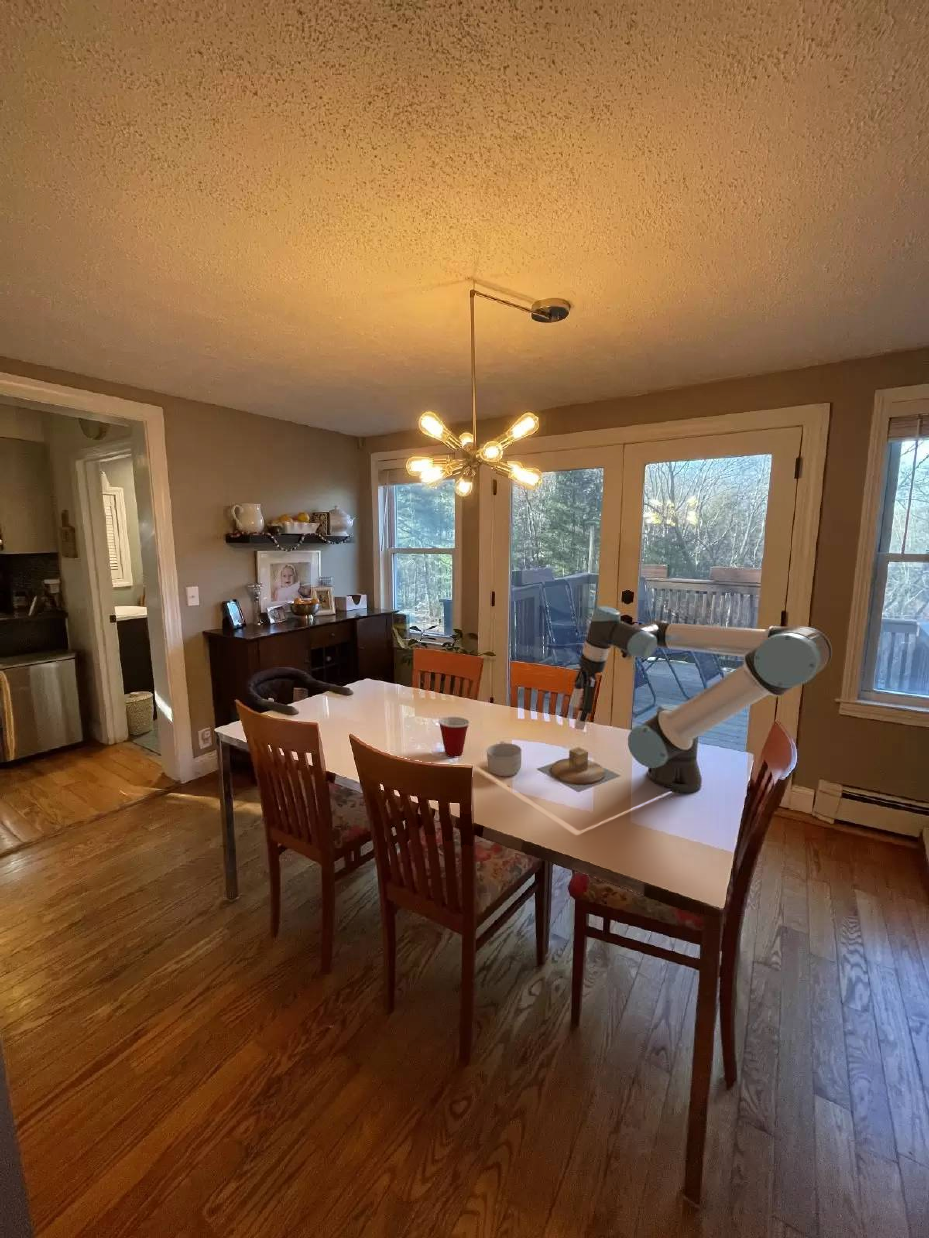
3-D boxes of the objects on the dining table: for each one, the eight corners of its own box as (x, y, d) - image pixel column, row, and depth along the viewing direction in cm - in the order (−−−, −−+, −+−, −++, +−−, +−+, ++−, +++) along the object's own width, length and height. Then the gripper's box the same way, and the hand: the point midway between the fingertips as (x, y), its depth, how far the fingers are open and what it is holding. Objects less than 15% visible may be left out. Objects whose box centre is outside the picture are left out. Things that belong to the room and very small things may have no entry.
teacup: (519, 782, 155) (519, 757, 154) (483, 779, 157) (483, 754, 156) (523, 763, 168) (523, 739, 167) (490, 760, 170) (490, 737, 169)
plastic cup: (476, 753, 176) (476, 719, 174) (454, 763, 168) (454, 728, 166) (454, 744, 183) (453, 712, 181) (431, 754, 176) (431, 720, 174)
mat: (620, 778, 157) (620, 775, 157) (578, 795, 147) (578, 791, 147) (577, 758, 172) (577, 755, 172) (536, 771, 162) (536, 768, 162)
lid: (615, 775, 157) (616, 753, 156) (578, 789, 148) (579, 766, 147) (577, 756, 170) (578, 736, 169) (540, 769, 162) (541, 747, 160)
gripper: (576, 638, 167) (560, 695, 174) (587, 671, 143) (568, 736, 151) (599, 643, 167) (582, 700, 174) (614, 677, 143) (594, 741, 151)
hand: (576, 717), depth 162 cm, fingers open, 13 cm apart
